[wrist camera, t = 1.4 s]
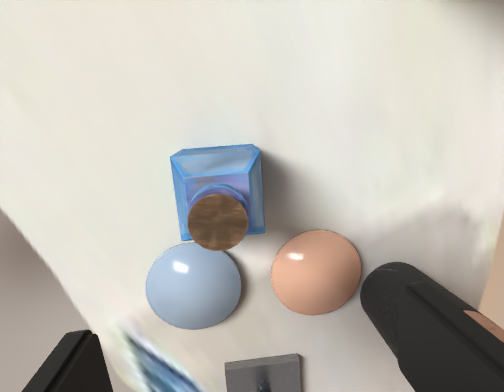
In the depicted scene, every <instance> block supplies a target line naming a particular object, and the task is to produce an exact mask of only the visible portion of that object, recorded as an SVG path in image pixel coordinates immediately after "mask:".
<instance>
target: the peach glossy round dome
mask: <svg viewBox="0 0 504 392" xmlns="http://www.w3.org/2000/svg"><path fill="white" fill-rule="evenodd" d="M360 277H361V262H360V258H359V255H358V253H357V251H356V249H355V248H354V247H353V245H352V244H351V243H350V242H349V241H347V240H346V239H345V238H344V237H342V236H341V235H339V234H337V233H334V232H331V231H327V230H312V231H307V232H303V233H301V234H299V235H296V236H295V237H293V238H291V239H290V240H289V241H287V242H286V243H285V244H284V245H283V246H282V247H281V249H280V250H279V251H278V253H277V254H276V256H275V258H274V261H273V264H272V268H271V282H272V285H273V289H274V292H275V294H276V296H277V297H278V299H279V300H280V301H281V303H282V304H283V305H285V306H286V307H287V308H289V309H290V310H292V311H294V312H296V313H300V314H304V315H320V314H325V313H328V312H331V311H333V310H335V309H337V308H339V307H340V306H342V305H343V304H344V303H345V302H346V301H348V300H349V298H350V297H351V296H352V295H353V293H354V292H355V290H356V288H357V287H358V284H359V281H360Z"/></svg>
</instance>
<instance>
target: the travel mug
mask: <svg viewBox="0 0 504 392" xmlns="http://www.w3.org/2000/svg"><path fill="white" fill-rule="evenodd" d="M416 282H427V283H428V284H430V285H431V286H432V287H433V288H435V289H436V290H437V291H439V292H440V293H441V294H442V295H444V296H445V297H446V298H447V299H449V300H450V301H451V302H453V303H454V304H455V305H456V306H458V307H459V308H460V309H461V310H463V311H464V312H465V313H467V314H468V315H469V316H470V317H472V318H473V319H474V320H475V321H477V322H478V323H479V324H481V325H482V326H483V327H484V328H486V329H487V330H488V331H489V332H491V333H492V334H493V335H495V336H496V337H497V338H498V339H500V340H501V341H502V342H503V343H504V330H503V329H501V328H500V327H499V326H498V325H496V324H495V323H494V322H492V321H491V320H490V319H488V318H487V317H485V316H484V315H483V314H481V313H480V312H478V311H477V310H476V309H474V308H473V307H471V306H470V305H468V304H467V303H465V302H464V301H463V300H461V299H460V298H458V297H457V296H455V295H454V294H452V293H451V292H450V291H448V290H447V289H445V288H444V287H442V286H441V285H439V284H438V283H437V282H435V281H434V280H432V279H431V278H429V277H428V276H427V275H425V274H424V273H422V272H421V271H419V270H418V269H416V268H415V267H413V266H411V265H409V264H406V263H402V262H392V263H387V264H384V265H382V266H380V267H378V268H376V269H375V270H374V271H372V272H371V273H370V274H369V276H368V277H367V278H366V280H365V281H364V283H363V285H362V288H361V293H360V299H361V304H362V307H363V309H364V311H365V312H366V314H367V315H368V317H369V318H370V320H371V321H372V323H373V324H374V326H375V327H376V329H377V330H378V332H379V333H380V334H381V336H382V337H383V339H384V340H385V342H386V343H387V345H388V346H389V348H390V349H391V350H392V352H393V353H394V355H395V356H396V358H397V359H398V323H399V293H400V290H402V289H403V288H404V286H405V284H409V283H416Z"/></svg>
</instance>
